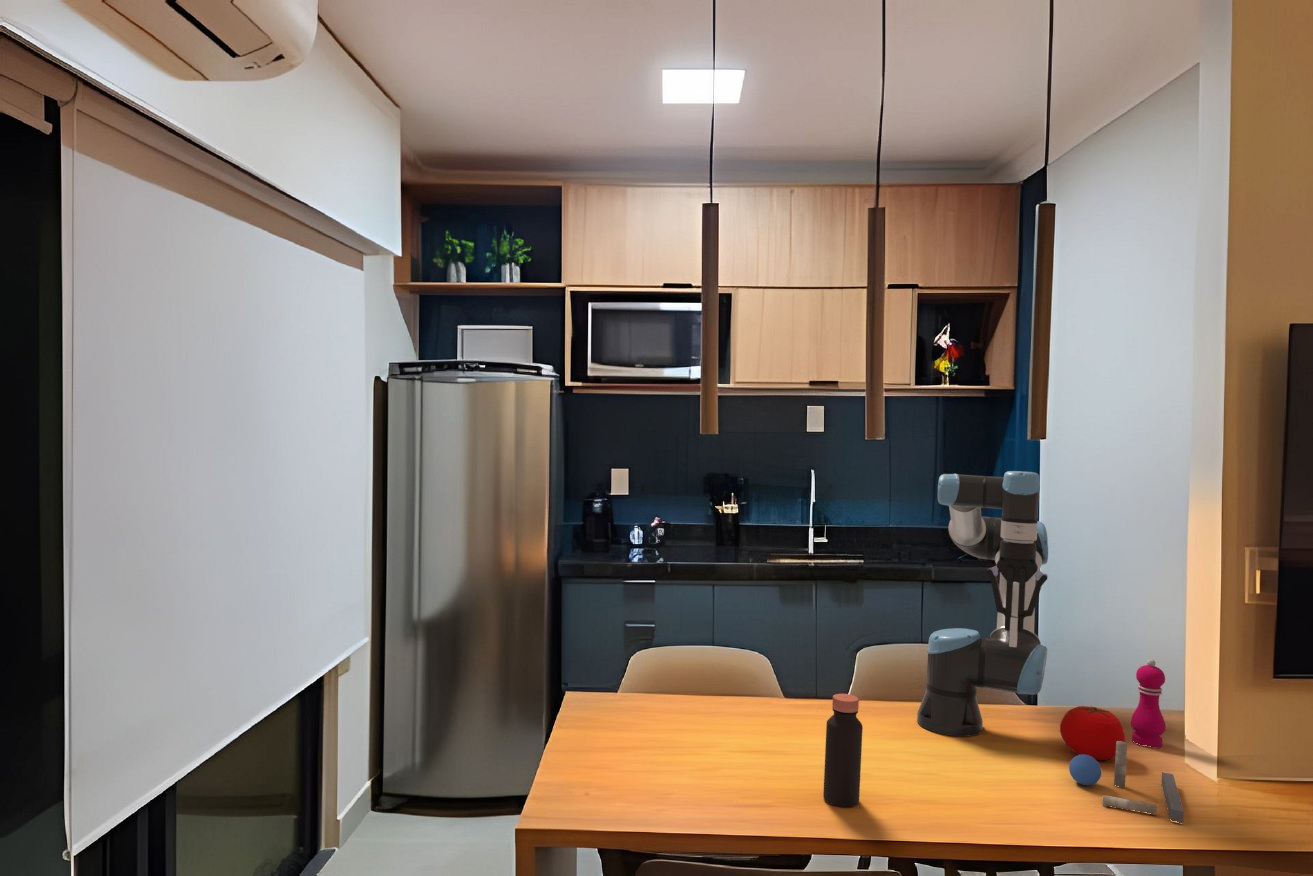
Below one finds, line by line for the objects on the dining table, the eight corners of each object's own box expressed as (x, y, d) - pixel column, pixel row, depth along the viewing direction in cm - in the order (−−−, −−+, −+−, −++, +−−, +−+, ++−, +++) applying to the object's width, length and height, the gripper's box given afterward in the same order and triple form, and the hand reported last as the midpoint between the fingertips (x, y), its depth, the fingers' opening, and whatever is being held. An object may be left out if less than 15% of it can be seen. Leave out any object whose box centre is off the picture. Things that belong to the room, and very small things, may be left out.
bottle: (815, 798, 170) (820, 695, 170) (839, 790, 174) (843, 690, 174) (842, 811, 165) (847, 705, 164) (866, 803, 169) (871, 699, 168)
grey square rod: (1170, 822, 166) (1171, 809, 166) (1161, 784, 184) (1162, 772, 184) (1182, 824, 165) (1183, 811, 165) (1172, 786, 183) (1173, 774, 183)
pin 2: (1102, 804, 173) (1154, 814, 169) (1103, 806, 171) (1156, 816, 168) (1102, 794, 173) (1154, 803, 170) (1103, 796, 171) (1156, 805, 168)
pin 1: (1114, 786, 181) (1116, 743, 181) (1113, 783, 183) (1116, 740, 183) (1125, 788, 180) (1127, 745, 180) (1124, 785, 182) (1127, 742, 182)
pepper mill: (1162, 751, 203) (1166, 665, 202) (1127, 743, 207) (1131, 659, 206) (1166, 743, 208) (1171, 659, 208) (1132, 735, 213) (1136, 653, 212)
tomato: (1121, 771, 190) (1124, 720, 189) (1055, 756, 197) (1058, 707, 197) (1126, 754, 200) (1129, 706, 199) (1063, 741, 207) (1066, 694, 207)
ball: (1112, 770, 179) (1094, 794, 178) (1100, 767, 184) (1083, 789, 184) (1086, 749, 180) (1069, 773, 179) (1075, 746, 186) (1058, 769, 185)
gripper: (985, 539, 196) (980, 645, 196) (1049, 545, 190) (1044, 653, 191) (988, 536, 202) (983, 637, 203) (1050, 541, 197) (1045, 646, 197)
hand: (1013, 645), depth 197 cm, fingers closed
